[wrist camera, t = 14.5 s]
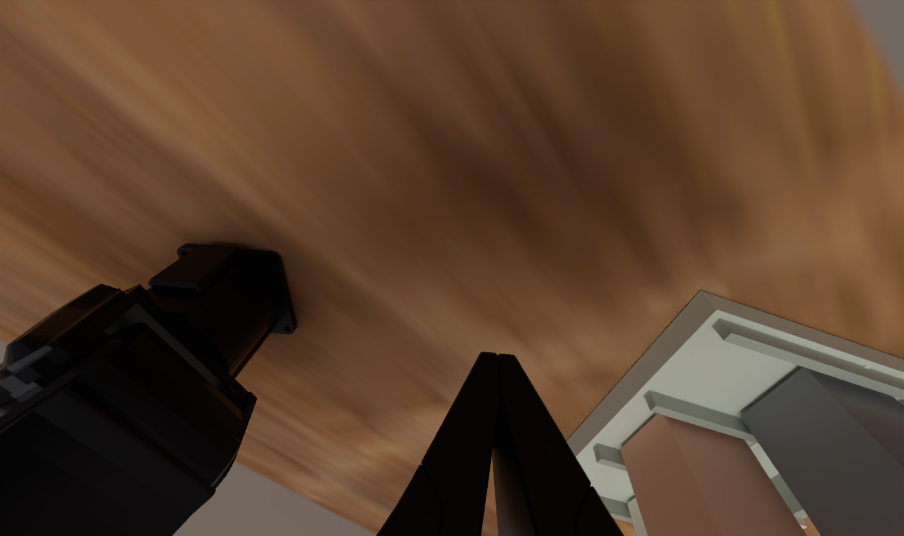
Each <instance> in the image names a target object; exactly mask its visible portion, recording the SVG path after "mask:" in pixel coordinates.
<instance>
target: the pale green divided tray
mask: <svg viewBox="0 0 904 536" xmlns="http://www.w3.org/2000/svg"><path fill="white" fill-rule="evenodd" d="M802 367H805V368H808V369H811V370H814V371H817V372H820V373H823V374H826V375H829V376H833V377H836V378H839V379H842V380H845V381H848V382H851V383H854V384H857V385H860V386H863V387H866V388H869V389H872V390H875V391H878V392H881V393H884V394H887V395H890V396H893V397H894V398H895V399H896V400H897V401H898V402H899V403H901V404H902V405H903V406H904V359H901V358H898V357H895V356H892V355H889V354H886V353H883V352H880V351H877V350H874V349H871V348H868V347H865V346H862V345H860V344H857V343H854V342H851V341H848V340H845V339H842V338H839V337H836V336H833V335H830V334H827V333H824V332H821V331H818V330H815V329H812V328H809V327H806V326H804V325H801V324H798V323H795V322H792V321H789V320H786V319H783V318H780V317H777V316H774V315H771V314H768V313H765V312H762V311H759V310H756V309H753V308H751V307H748V306H745V305H742V304H739V303H736V302H733V301H730V300H727V299H724V298H721V297H718V296H715V295H712V294H709V293H706V292H703V291H699V293H698V294H697V295H696V296H695V297H694V298H693V299H692V300H691V302H690V303H689V304H688V305H687V306H686V307H685V308H684V309H683V311H682V312H681V313H680V314H679V315H678V316H677V317H676V318H675V320H674V321H673V322H672V323H671V324H670V325H669V326H668V327H667V329H666V330H665V331H664V332H663V333H662V334H661V335H660V336H659V338H658V339H657V340H656V341H655V342H654V343H653V344H652V345H651V347H650V348H649V349H648V350H647V351H646V352H645V353H644V354H643V356H642V357H641V358H640V359H639V360H638V361H637V362H636V363H635V365H634V366H633V367H632V368H631V369H630V370H629V371H628V372H627V374H626V375H625V376H624V377H623V378H622V379H621V380H620V381H619V383H618V384H617V385H616V386H615V387H614V388H613V389H612V390H611V392H610V393H609V394H608V395H607V396H606V397H605V398H604V399H603V401H602V402H601V403H600V404H599V405H598V406H597V407H596V408H595V410H594V411H593V412H592V413H591V414H590V415H589V416H588V417H587V419H586V420H585V421H584V422H583V423H582V424H581V425H580V426H579V428H578V429H577V430H576V431H575V432H574V433H573V434H572V435H571V437H570V438H569V439H568V440H567V443H568V445H569V446H570V448H571V450H572V451H573V453H574V455H575V456H576V458H577V460H578V461H579V463H580V465H581V466H582V468H583V470H584V471H585V473H586V475H587V476H588V478H589V480H590V481H591V486H593V487H594V488H595V489H596V491H597V493H598V495H599V496H600V498H601V500H602V501H603V503H604V505H605V506H606V508H607V509H608V511H609V513H610V514H611V516H612V517H613V518H615V519H619V520H623V521H626V522H630V523H633V521H632V518H631V515H630V511H629V508H628V505H627V504H628V503H629V502H630V501H631V500H633V499H634V498H635V494H634V491H633V488H632V485H631V482H630V479H629V476H628V473H627V470H626V466H625V463H624V460H623V457H622V454H621V451H620V449H621V448H622V447H623V446H624V445H625V444H626V443H627V442H628V441H629V440H630V439H631V438H632V437H633V436H634V435H636V434H637V433H638V432H639V431H640V430H641V429H642V428H643V427H644V426H645V425H646V424H647V423H648V422H649V421H650V420H651V419H653V418H654V417H655V416H656V415H657V414H661V415H665V416H668V417H671V418H675V419H678V420H681V421H685V422H688V423H691V424H694V425H698V426H701V427H704V428H708V429H711V430H714V431H718V432H721V433H724V434H728V435H731V436H734V437H738V438H741V439H744V440H745V441H746V442H747V444H748V445H749V447H750V448H751V450H752V452H753V453H754V455H755V456H756V458H757V459H758V461H759V462H760V464H761V465H762V467H763V469H764V470H765V472H766V473H767V475H768V476H769V478H770V479H771V481H772V482H773V484H774V486H775V487H776V489H777V490H778V492H779V493H780V495H781V496H782V498H783V499H784V501H785V503H786V504H787V506H788V507H789V509H790V510H791V512H792V513H793V515H794V516H795V518H796V520H797V521H798V523H799V524H800V526H801V527H802V529H804V528H806V527H807V525H806V524H805V522H804V521H803V519H804V518H806V517H808V515H807V514H806V512H805V511H804V509H803V508H802V507H801V505H800V504H799V502H798V501H797V499H796V498H795V496H794V495H793V493H792V492H791V490H790V489H789V487H788V486H787V484H786V483H785V481H784V480H783V478H782V477H781V475H780V474H779V473H778V471H777V470H776V468H775V467H774V465H773V464H772V462H771V461H770V459H769V458H768V456H767V455H766V453H765V452H764V450H763V449H762V447H761V446H760V444H759V443H758V441H757V440H756V439H755V437H754V436H753V434H752V433H751V431H750V430H749V428H748V427H747V425H746V424H745V422H744V421H743V419H742V418H741V415H742V414H743V413H745V412H746V411H747V410H748V409H750V408H751V407H752V406H754V405H755V404H756V403H757V402H759V401H760V400H761V399H763V398H764V397H765V396H766V395H768V394H769V393H770V392H772V391H773V390H774V389H775V388H777V387H778V386H779V385H781V384H782V383H783V382H784V381H786V380H787V379H788V378H789V377H791V376H792V375H793V374H795V373H796V372H797V371H798V370H800V369H801V368H802ZM591 486H590V487H591Z"/></svg>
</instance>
